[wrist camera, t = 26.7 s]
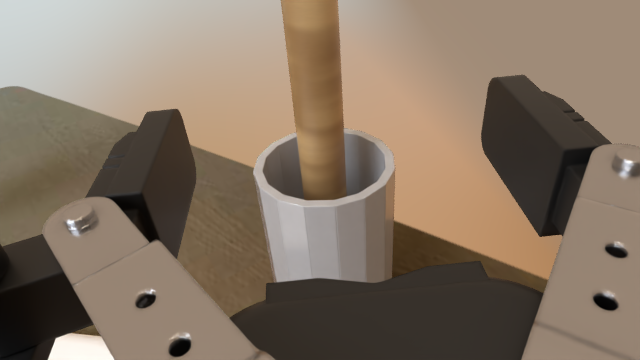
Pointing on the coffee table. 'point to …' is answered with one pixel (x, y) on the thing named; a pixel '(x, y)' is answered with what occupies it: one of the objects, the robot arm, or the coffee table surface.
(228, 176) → the coffee table surface
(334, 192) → the light brown wooden rod
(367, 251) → the grey faceted cup
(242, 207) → the coffee table surface
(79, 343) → the plate
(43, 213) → the coffee table surface
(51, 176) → the coffee table surface
